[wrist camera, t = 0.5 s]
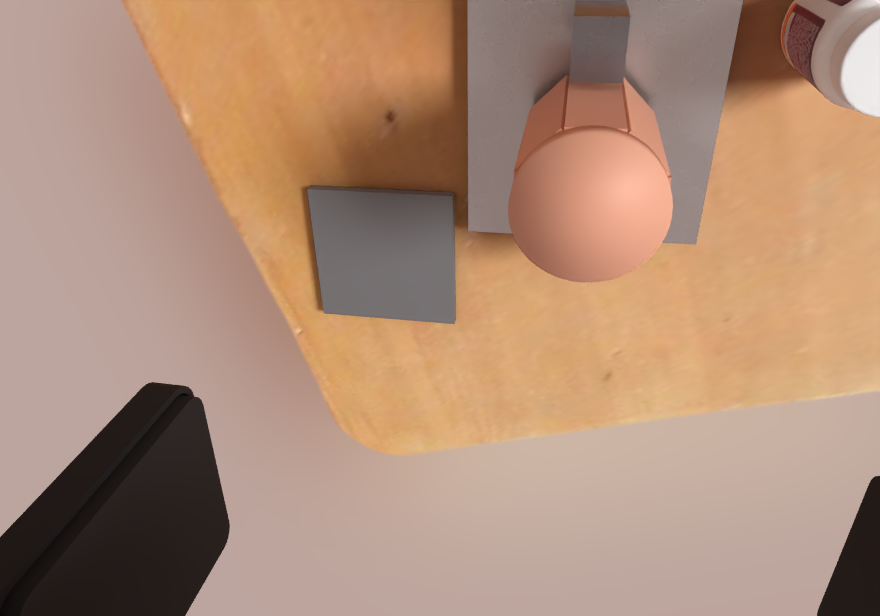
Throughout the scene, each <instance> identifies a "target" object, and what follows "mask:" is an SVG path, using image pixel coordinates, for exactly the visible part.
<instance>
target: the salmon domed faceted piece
mask: <svg viewBox="0 0 880 616" xmlns="http://www.w3.org/2000/svg"><path fill="white" fill-rule="evenodd" d="M671 179H672V178H671V174H670V170H669V166H668V163H667V159H666V155H665V151H664V147H663V144H662V140H661V136H660V132H659V128H658V125H657V121H656V117H655V113H654V111H653V110H652V109H651V108H650V107H649V105H648V104H647V103H646V102H645V101H644V100H643V98H642V97H641V96H640V95H639V94H638V93H637V92H636V90H635V89H634V88H633V87H632V86H631V85H630V84H629V82H628V81H627V80H626V79H625V78H624V79H623V84H618V83H571V82H569V77H568V76H567V75H566V76H565V77H564V78H563V79H562V80H561V81H560V82H559V83H557V84H556V85H555V86H554V87H553V88H552V89H551V90H550V91H549V92H548V93H547V94H546V95H545V96H543V97H542V98H541V99H540V100H539V101H538V102H537V103H536V104H535V105H534V106H533V107H532V108H531V109H530V111H529V114H528V118H527V122H526V126H525V130H524V134H523V137H522V141H521V145H520V149H519V153H518V157H517V161H516V165H515V168H514V178H513V185H512V189H511V193H510V197H509V203H508V218H509V224H510V228H511V231H512V234H513V237H514V239H515V241H516V243H517V245H518V246H519V248H520V249H521V251H522V252H523V253H524V254H525V255H526V257H527V258H528V259H529V260H530V261H531V262H533V263H534V264H535V265H536V266H538V267H539V268H541V269H542V270H544V271H545V272H547V273H549V274H551V275H553V276H556V277H559V278H562V279H566V280H570V281H576V282H600V281H606V280H611V279H614V278H617V277H620V276H623V275H625V274H627V273H629V272H631V271H633V270H634V269H636V268H638V267H639V266H641V265H642V264H643V263H644V262H646V261H647V260H648V259H649V258H650V257H651V256H652V255H653V254H654V253H655V252H656V250H657V249H658V248H659V247H660V245H661V244H662V242H663V240H664V238H665V237H666V234H667V232H668V229H669V227H670V223H671V219H672V212H673V199H672V193H671V188H670V185H671Z"/></svg>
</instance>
